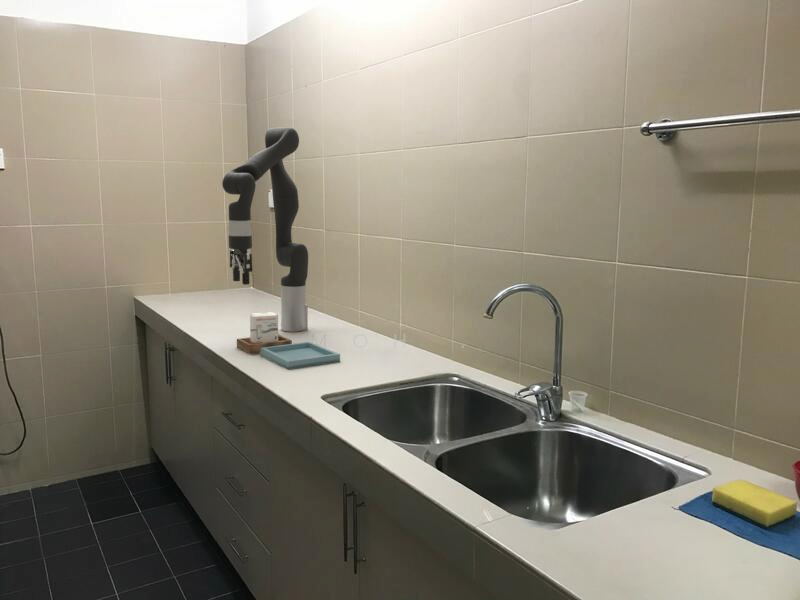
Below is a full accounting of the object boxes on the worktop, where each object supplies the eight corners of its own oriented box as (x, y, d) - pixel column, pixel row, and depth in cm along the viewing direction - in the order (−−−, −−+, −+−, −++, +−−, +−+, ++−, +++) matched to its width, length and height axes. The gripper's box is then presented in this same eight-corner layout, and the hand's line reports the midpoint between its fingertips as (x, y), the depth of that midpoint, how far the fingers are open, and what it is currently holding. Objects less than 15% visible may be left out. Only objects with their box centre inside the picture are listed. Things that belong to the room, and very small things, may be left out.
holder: (277, 342, 232) (277, 334, 231) (291, 348, 223) (291, 340, 222) (236, 347, 223) (236, 338, 222) (250, 354, 214) (249, 345, 214)
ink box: (253, 351, 219) (252, 316, 217) (249, 347, 223) (249, 313, 221) (278, 348, 223) (278, 314, 221) (274, 345, 227) (274, 311, 225)
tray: (309, 348, 224) (309, 341, 224) (340, 361, 208) (340, 354, 208) (260, 355, 214) (260, 347, 213) (288, 369, 198) (288, 361, 197)
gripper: (259, 235, 214) (260, 284, 217) (243, 232, 226) (244, 279, 229) (236, 236, 210) (238, 286, 213) (221, 233, 222) (222, 280, 224)
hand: (241, 282), depth 221 cm, fingers open, 8 cm apart
